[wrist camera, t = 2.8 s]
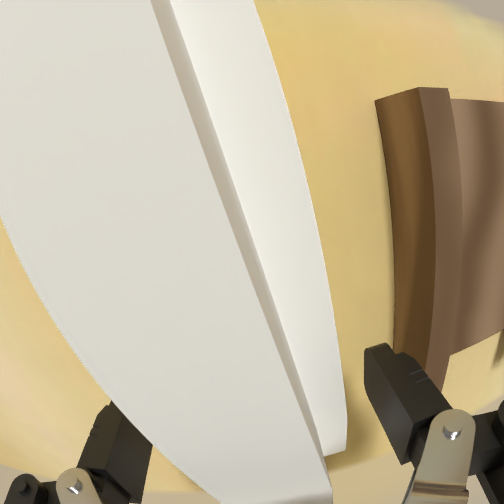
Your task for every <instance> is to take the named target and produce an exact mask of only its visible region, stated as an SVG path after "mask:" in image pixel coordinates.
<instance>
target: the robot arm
mask: <svg viewBox="0 0 504 504" xmlns="http://www.w3.org/2000/svg"><path fill="white" fill-rule="evenodd" d="M364 385H365V390H366V393H367V396H368V398H369V400H370V402H371V404H372V406H373V408H374V410H375V412H376V414H377V416H378V418H379V420H380V422H381V424H382V426H383V428H384V430H385V432H386V435H387V437H388V439H389V441H390V443H391V445H392V447H393V449H394V451H395V453H396V455H397V458H398V460H399V462H400V464H401V465H403V464H405V463H408V462H410V461H411V462H412V464H413V466H414V468H415V469H414V472H413V474H412V477H411V481H410V483H409V486H408V489H407V491H406V494H405V496H404V499H403V501H402V504H467V502H468V497H469V492H468V490H466V483H467V478H468V476H471V475H475V474H476V476H477V478H478V480H479V482H480V484H481V486H482V488H483V490H484V492H485V494H486V497H487V498H488V501H489V503H490V504H504V400H503V402H502V403H501V404H500V406H499V409H498V410H497V411H493V412H489V413H484V414H480V415H475V416H471V415H470V414H468V413H467V412H465V411H463V410H459V409H453V408H452V407H451V406H450V404H449V403H448V402H447V400H446V399H445V398H444V396H443V395H442V394H441V392H440V391H439V390H438V388H437V387H436V386H435V384H434V383H433V382H432V380H431V379H430V378H428V375H427V374H426V372H425V371H424V370H422V367H421V366H420V365H419V363H418V362H417V361H416V359H415V358H413V357H411V356H409V355H408V354H406V353H404V352H401V353H398V354H395V353H394V352H393V350H392V349H391V347H390V346H389V345H388V344H387V343H382V344H379V345H376V346H373V347H369V348H366V349H365V351H364ZM152 446H153V444H152V443H151V442H150V441H149V440H148V439H147V438H146V437H145V436H144V435H143V434H142V433H141V432H140V431H139V430H138V429H137V428H136V427H135V426H134V425H133V424H132V423H131V422H130V421H129V419H128V418H127V417H126V416H125V415H124V414H123V413H122V412H121V411H120V409H119V408H118V407H117V406H116V405H115V404H114V403H113V401H112V400H111V402H110V405H107V406H105V407H104V408H103V409H102V411H101V412H100V413H99V414H98V415H97V417H96V420H95V422H94V424H93V428H92V429H91V432H90V436H89V437H88V439H87V442H86V444H85V447H84V449H83V452H82V454H81V457H80V460H79V462H78V465H77V467H76V468H71V469H68V470H66V471H64V472H63V473H62V474H61V475H60V476H59V478H58V479H57V481H52V482H44V483H40V482H39V481H38V480H37V479H36V478H35V477H34V476H33V475H31V474H22V475H20V476H18V477H17V478H15V480H14V481H13V482H12V484H11V487H10V489H9V492H8V494H7V497H6V500H5V502H4V504H129V503H137V504H141V501H142V496H143V491H144V485H145V480H146V475H147V470H148V465H149V461H150V456H151V451H152Z"/></svg>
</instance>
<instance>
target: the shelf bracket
mask: <svg viewBox="0 0 504 504" xmlns="http://www.w3.org/2000/svg"><path fill="white" fill-rule="evenodd" d="M0 217H1V219H2V222H3V224H4V226H5V229H6V231H7V233H8V236H9V238H10V240H11V243H12V245H13V247H14V249H15V251H16V253H17V256H18V258H19V260H20V262H21V264H22V266H23V268H24V270H25V272H26V274H27V276H28V277H29V279H30V281H31V283H32V285H33V287H34V289H35V290H36V292H37V294H38V296H39V298H40V299H41V301H42V303H43V304H44V306H45V308H46V310H47V311H48V313H49V314H50V316H51V318H52V319H53V321H54V323H55V324H56V326H57V327H58V329H59V330H60V332H61V333H62V335H63V336H64V338H65V339H66V341H67V342H68V344H69V345H70V347H71V348H72V350H73V351H74V352H75V354H76V355H77V357H78V358H79V359H80V361H81V362H82V364H83V365H84V366H85V368H86V369H87V370H88V372H89V373H90V374H91V375H92V377H93V378H94V379H95V381H96V382H97V383H98V384H99V386H100V387H101V388H102V389H103V391H104V392H105V393H106V394H107V395H108V397H109V398H110V399H111V400H112V401H113V403H114V404H115V405H116V406H117V407H118V408H119V409H120V411H121V412H122V413H123V414H124V415H125V416H126V417H127V418H128V419H129V421H130V422H131V423H132V424H133V425H134V426H135V427H136V428H137V429H138V430H139V431H140V432H141V433H142V434H143V435H144V436H145V437H146V438H147V439H148V440H149V441H150V442H151V443H152V444H153V445H154V446H155V447H156V448H157V449H158V450H159V451H160V452H161V453H162V454H163V455H164V456H165V457H166V458H167V459H168V460H170V461H171V462H172V463H173V464H174V465H175V466H176V467H177V468H178V469H180V470H181V471H182V472H183V473H184V474H185V475H187V476H188V477H189V478H190V479H191V480H192V481H194V482H195V483H196V484H197V485H199V486H200V487H201V488H202V489H204V490H205V491H206V492H207V493H209V494H210V495H211V496H213V497H214V498H215V499H216V500H218V501H219V502H220V503H222V504H333V491H332V486H331V483H330V479H329V475H328V471H327V467H326V463H325V459H324V456H327V455H331V454H335V453H338V452H341V451H345V450H346V437H347V409H346V400H345V391H344V383H343V375H342V367H341V360H340V352H339V345H338V338H337V332H336V325H335V319H334V313H333V307H332V301H331V295H330V289H329V284H328V278H327V273H326V267H325V262H324V257H323V252H322V247H321V242H320V237H319V232H318V228H317V223H316V218H315V214H314V209H313V205H312V200H311V196H310V192H309V187H308V183H307V179H306V175H305V171H304V167H303V162H302V158H301V155H300V151H299V147H298V143H297V139H296V135H295V132H294V128H293V124H292V121H291V117H290V113H289V110H288V106H287V103H286V99H285V96H284V93H283V89H282V86H281V83H280V79H279V76H278V73H277V69H276V66H275V63H274V60H273V57H272V54H271V51H270V48H269V45H268V42H267V39H266V36H265V33H264V30H263V27H262V24H261V21H260V18H259V15H258V13H257V10H256V7H255V4H254V2H253V0H0Z"/></svg>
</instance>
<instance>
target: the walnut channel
mask: <svg viewBox="0 0 504 504" xmlns="http://www.w3.org/2000/svg"><path fill="white" fill-rule="evenodd" d="M375 104H376V109H377V114H378V119H379V124H380V130H381V135H382V141H383V147H384V154H385V160H386V168H387V175H388V183H389V192H390V202H391V212H392V225H393V240H394V263H395V324H394V346H393V352H394V353H395V354H398V353H401V352H404V353H406V354H408V355H409V356H411V357H413V358H415V359H416V361H417V362H418V363H419V365H420V366H421V367H422V370H424V371H425V372H426V374H427V375H428V378H430V379H431V380H432V382H433V383H434V384H435V386H436V387H437V388H438V390H439V391H440V392H441V391H442V388H443V384H444V380H445V375H446V371H447V367H448V362H449V357H450V355H452V354H454V353H456V352H459V351H461V350H463V349H465V348H467V347H469V346H471V345H474V344H476V343H478V342H480V341H482V340H484V339H486V338H488V337H490V336H491V335H493V334H495V333H497V332H499V331H501V330H503V329H504V103H503V102H493V101H482V100H468V99H450V96H449V91H448V88H429V87H417V88H414V89H410V90H407V91H404V92H400V93H397V94H394V95H390V96H387V97H384V98H381V99H378V100H375Z"/></svg>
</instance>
